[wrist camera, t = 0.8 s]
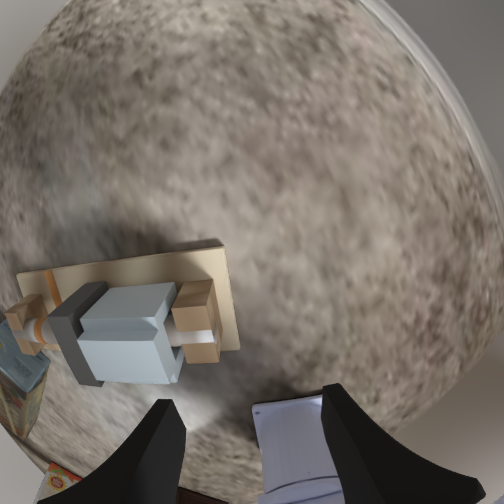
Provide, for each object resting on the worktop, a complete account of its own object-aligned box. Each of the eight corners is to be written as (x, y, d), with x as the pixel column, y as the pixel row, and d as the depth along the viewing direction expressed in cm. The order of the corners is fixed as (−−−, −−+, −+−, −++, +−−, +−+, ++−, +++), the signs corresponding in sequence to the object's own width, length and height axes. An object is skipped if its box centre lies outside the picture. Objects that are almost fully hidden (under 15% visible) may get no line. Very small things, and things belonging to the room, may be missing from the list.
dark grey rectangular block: (105, 281, 18) (68, 316, 12) (126, 343, 19) (101, 387, 14) (85, 283, 18) (46, 316, 12) (107, 342, 19) (79, 384, 14)
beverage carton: (55, 361, 21) (26, 399, 15) (39, 419, 25) (23, 446, 19) (7, 314, 20) (-28, 343, 13) (3, 386, 24) (-16, 410, 17)
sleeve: (174, 281, 17) (148, 327, 12) (189, 339, 19) (173, 393, 13) (110, 287, 17) (71, 327, 12) (129, 341, 19) (101, 389, 13)
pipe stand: (224, 245, 18) (218, 269, 14) (240, 345, 20) (239, 385, 16) (19, 272, 18) (-11, 291, 14) (48, 345, 20) (25, 370, 16)
